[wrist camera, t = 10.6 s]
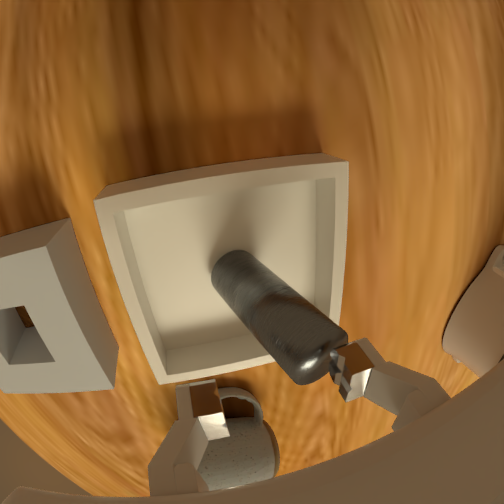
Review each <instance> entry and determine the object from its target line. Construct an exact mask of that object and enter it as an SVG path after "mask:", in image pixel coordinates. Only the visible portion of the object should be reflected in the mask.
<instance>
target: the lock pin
mask: <svg viewBox="0 0 504 504" xmlns="http://www.w3.org/2000/svg"><path fill="white" fill-rule="evenodd" d="M211 282H212V285H213V287H214V289H215V290H216V291H217V292H218V294H219V295H220V296H221V297H222V299H223V300H224V301H225V302H226V303H227V305H228V306H229V307H230V308H231V309H232V311H233V312H234V313H235V314H236V315H237V317H238V318H239V319H240V320H241V321H242V323H243V324H244V325H245V326H246V327H247V329H248V330H249V331H250V332H251V333H252V334H253V336H254V337H255V338H256V339H257V340H258V341H259V343H260V344H261V345H262V346H263V347H264V348H265V349H266V351H267V352H268V353H269V354H270V355H271V356H272V357H273V359H274V360H275V361H276V362H277V363H278V364H279V365H280V367H281V368H282V369H283V370H284V371H285V372H286V373H287V374H288V375H289V377H290V378H291V379H292V380H293V381H294V382H295V383H296V384H298V385H306V384H310V383H313V382H315V381H317V380H318V379H320V378H321V377H323V376H324V375H326V374H327V373H328V372H329V362H330V361H331V360H332V357H331V356H330V353H331V350H332V348H335V347H338V346H341V345H344V344H347V343H348V335H347V333H346V332H345V331H344V330H343V329H342V328H341V327H339V326H338V325H337V324H336V323H334V322H333V321H332V320H331V319H330V318H328V317H327V316H326V315H325V314H323V313H322V312H321V311H320V310H319V309H317V308H316V307H315V306H314V305H312V304H311V303H310V302H309V301H308V300H306V299H305V298H304V297H303V296H301V295H300V294H299V293H298V292H297V291H295V290H294V289H293V288H292V287H291V286H289V285H288V284H287V283H286V282H284V281H283V280H282V279H281V278H280V277H278V276H277V275H276V274H275V273H273V272H272V271H271V270H270V269H269V268H267V267H266V266H265V265H264V264H262V263H261V262H260V261H259V260H258V259H256V258H255V257H254V256H253V255H251V254H250V253H249V252H247V251H244V250H234V251H230V252H228V253H226V254H225V255H223V256H222V257H221V258H220V259H219V260H218V261H217V262H216V264H215V265H214V267H213V270H212V273H211Z"/></svg>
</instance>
